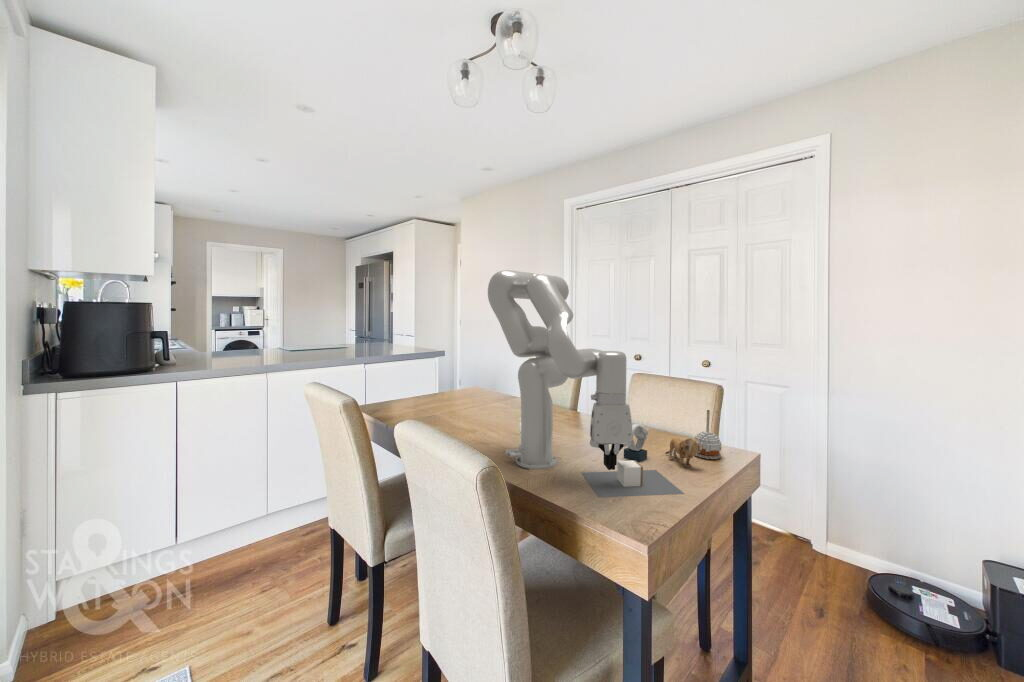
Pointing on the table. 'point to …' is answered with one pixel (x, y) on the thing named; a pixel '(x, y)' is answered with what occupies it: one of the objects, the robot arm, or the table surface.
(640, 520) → the table surface
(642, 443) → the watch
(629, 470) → the block
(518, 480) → the table surface
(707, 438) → the decorative ornament
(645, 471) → the mat
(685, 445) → the lion figurine
